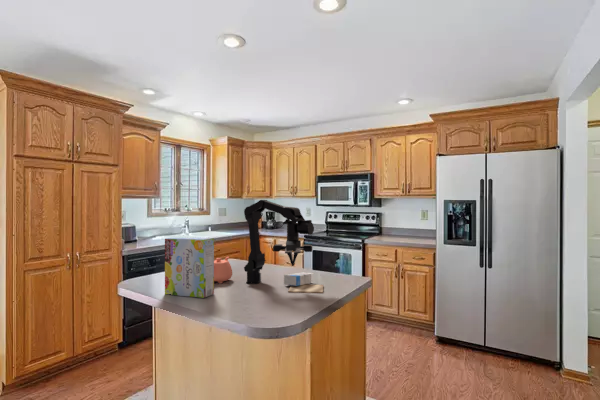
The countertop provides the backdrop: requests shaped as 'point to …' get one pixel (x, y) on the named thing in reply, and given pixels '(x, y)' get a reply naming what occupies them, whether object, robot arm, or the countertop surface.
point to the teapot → (222, 270)
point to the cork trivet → (306, 288)
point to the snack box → (189, 266)
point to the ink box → (297, 279)
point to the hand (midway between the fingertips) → (292, 265)
